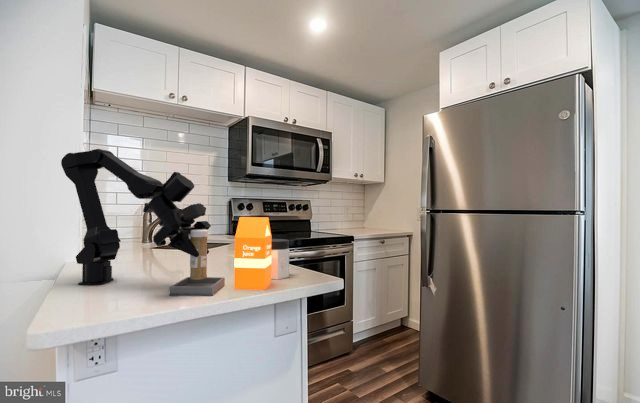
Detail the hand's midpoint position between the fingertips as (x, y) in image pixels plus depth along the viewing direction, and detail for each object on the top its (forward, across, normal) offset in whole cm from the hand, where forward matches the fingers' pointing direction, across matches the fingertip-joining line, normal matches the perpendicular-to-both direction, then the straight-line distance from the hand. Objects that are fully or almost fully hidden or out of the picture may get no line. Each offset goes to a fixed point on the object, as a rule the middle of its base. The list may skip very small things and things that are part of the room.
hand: (203, 254), depth 88 cm
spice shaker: (+4, 0, +6) cm, 7 cm away
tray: (+6, 0, +8) cm, 10 cm away
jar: (+17, +21, -3) cm, 27 cm away
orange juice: (+15, +8, -1) cm, 17 cm away
